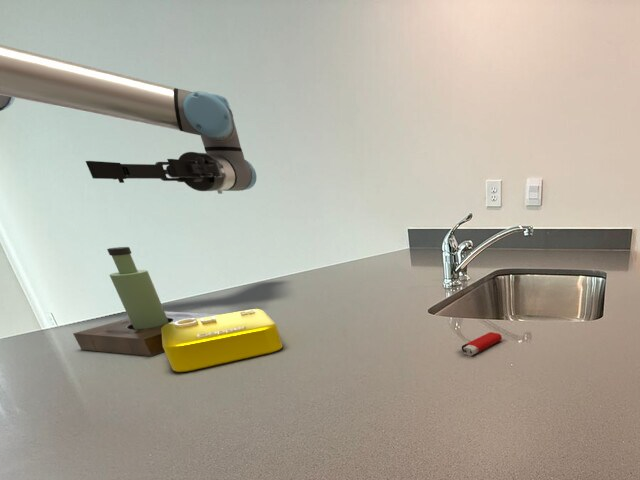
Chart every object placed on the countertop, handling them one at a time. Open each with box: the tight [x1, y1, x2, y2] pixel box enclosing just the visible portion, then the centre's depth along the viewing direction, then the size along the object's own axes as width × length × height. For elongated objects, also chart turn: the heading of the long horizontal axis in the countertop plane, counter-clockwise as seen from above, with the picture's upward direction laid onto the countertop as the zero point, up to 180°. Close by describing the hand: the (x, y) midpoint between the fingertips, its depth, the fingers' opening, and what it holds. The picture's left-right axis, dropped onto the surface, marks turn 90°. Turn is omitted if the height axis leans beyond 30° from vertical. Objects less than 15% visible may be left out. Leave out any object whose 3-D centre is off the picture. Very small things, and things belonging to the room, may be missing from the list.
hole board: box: [72, 310, 220, 357], centre depth 74 cm, size 16×14×3 cm
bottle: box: [106, 246, 169, 329], centre depth 71 cm, size 5×5×16 cm
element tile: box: [161, 308, 283, 373], centre depth 68 cm, size 15×15×5 cm
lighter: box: [461, 331, 503, 357], centre depth 66 cm, size 3×1×8 cm
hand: (131, 168), depth 71 cm, fingers open, 13 cm apart
